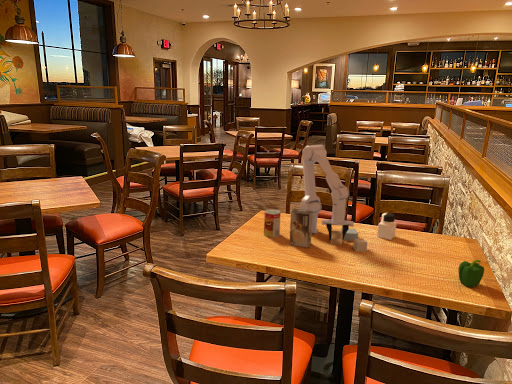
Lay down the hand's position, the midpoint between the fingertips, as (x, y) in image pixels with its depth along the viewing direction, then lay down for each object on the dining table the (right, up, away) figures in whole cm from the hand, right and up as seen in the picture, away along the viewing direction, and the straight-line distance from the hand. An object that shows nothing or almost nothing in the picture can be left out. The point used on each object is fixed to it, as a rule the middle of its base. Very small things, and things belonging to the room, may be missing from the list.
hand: (336, 239), depth 177 cm
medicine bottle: (+27, 0, +9) cm, 29 cm away
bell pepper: (+42, -12, -37) cm, 57 cm away
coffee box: (-17, -2, -3) cm, 18 cm away
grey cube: (+9, -4, -7) cm, 12 cm away
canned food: (-30, +1, +8) cm, 31 cm away
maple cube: (0, -1, 0) cm, 1 cm away
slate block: (+8, 0, +6) cm, 10 cm away
